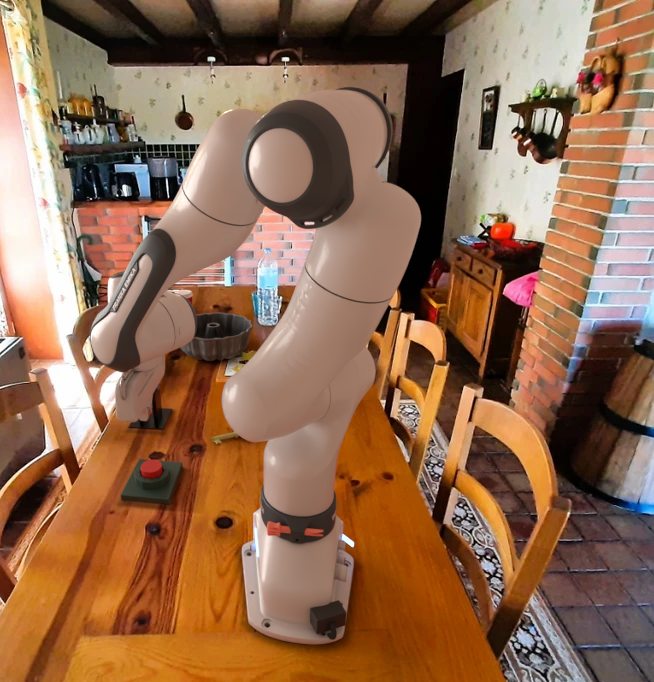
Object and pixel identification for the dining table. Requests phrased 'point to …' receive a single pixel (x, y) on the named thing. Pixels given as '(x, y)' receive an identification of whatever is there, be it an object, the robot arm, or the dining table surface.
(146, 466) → the button
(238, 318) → the bundt pan
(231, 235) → the robot arm
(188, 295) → the paper cup
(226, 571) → the dining table surface
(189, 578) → the dining table surface
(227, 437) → the key
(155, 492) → the switch box
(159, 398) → the lever bracket
